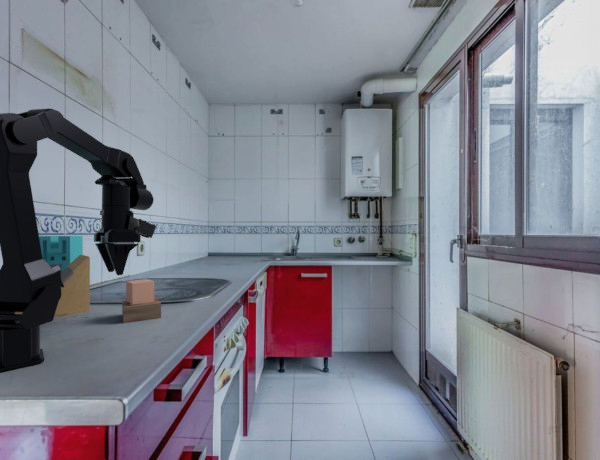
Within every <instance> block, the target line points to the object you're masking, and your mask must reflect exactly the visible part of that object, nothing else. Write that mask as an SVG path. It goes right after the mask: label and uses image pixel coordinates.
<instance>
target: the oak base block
mask: <svg viewBox="0 0 600 460" xmlns="http://www.w3.org/2000/svg"><path fill="white" fill-rule="evenodd" d="M121 305H122V308H121V311H122V314H121V315H122V322H123V324H127V323H129V324H130V323H136V322H142V321H149V320H150V321H151V320H159V319H162V303H161V301H160V300H159V298H158V297H155V296H154V302H147V303H141V304H134V305H132V304H130V303H128V302H127V301H126V300H122V304H121Z"/></svg>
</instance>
